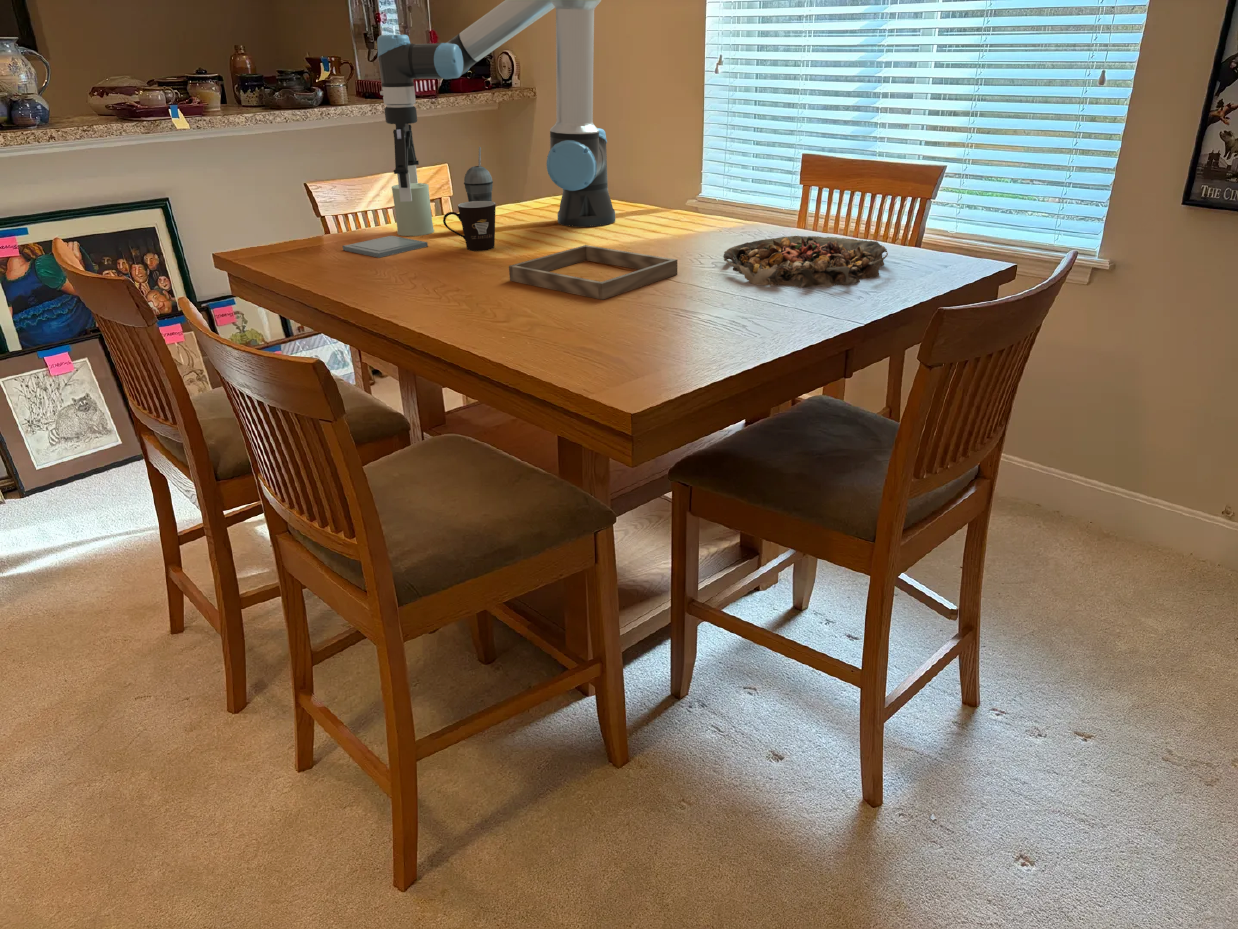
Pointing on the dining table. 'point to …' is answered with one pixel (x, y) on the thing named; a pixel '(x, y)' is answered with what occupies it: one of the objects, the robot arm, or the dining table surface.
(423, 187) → the can
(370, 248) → the slate coaster
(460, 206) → the coffee mug
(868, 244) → the food dish
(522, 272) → the walnut frame
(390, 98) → the robot arm
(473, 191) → the beverage cup
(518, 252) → the dining table surface
